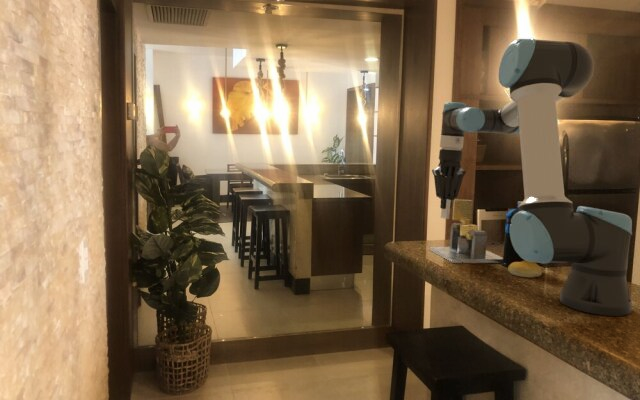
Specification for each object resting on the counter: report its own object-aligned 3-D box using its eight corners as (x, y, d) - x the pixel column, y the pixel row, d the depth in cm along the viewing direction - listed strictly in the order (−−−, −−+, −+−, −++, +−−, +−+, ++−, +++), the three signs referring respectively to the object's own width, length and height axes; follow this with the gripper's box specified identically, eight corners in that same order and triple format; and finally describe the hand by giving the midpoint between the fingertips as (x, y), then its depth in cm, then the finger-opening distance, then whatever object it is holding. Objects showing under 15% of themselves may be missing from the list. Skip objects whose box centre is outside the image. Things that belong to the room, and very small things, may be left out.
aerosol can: (525, 263, 168) (531, 200, 165) (533, 270, 160) (539, 204, 157) (498, 262, 169) (504, 199, 166) (505, 268, 160) (510, 202, 158)
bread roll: (502, 272, 157) (503, 259, 156) (524, 270, 160) (525, 257, 160) (523, 279, 149) (524, 265, 149) (546, 277, 153) (548, 263, 152)
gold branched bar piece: (463, 240, 168) (465, 206, 166) (450, 229, 186) (453, 199, 185) (482, 240, 168) (485, 206, 166) (468, 230, 186) (470, 199, 185)
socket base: (505, 262, 168) (508, 232, 167) (452, 263, 164) (454, 232, 163) (478, 250, 185) (480, 223, 184) (429, 250, 182) (431, 222, 181)
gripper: (443, 148, 173) (436, 220, 176) (473, 150, 179) (466, 219, 182) (428, 147, 180) (422, 216, 183) (458, 149, 185) (452, 216, 188)
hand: (444, 218), depth 182 cm, fingers closed
